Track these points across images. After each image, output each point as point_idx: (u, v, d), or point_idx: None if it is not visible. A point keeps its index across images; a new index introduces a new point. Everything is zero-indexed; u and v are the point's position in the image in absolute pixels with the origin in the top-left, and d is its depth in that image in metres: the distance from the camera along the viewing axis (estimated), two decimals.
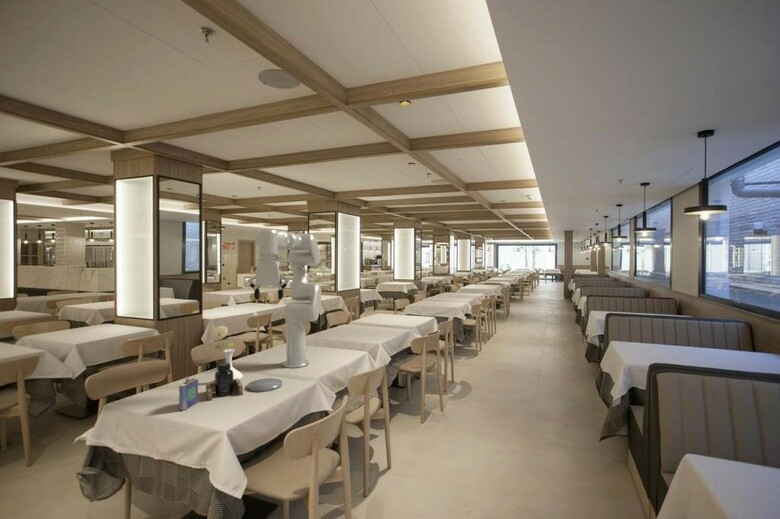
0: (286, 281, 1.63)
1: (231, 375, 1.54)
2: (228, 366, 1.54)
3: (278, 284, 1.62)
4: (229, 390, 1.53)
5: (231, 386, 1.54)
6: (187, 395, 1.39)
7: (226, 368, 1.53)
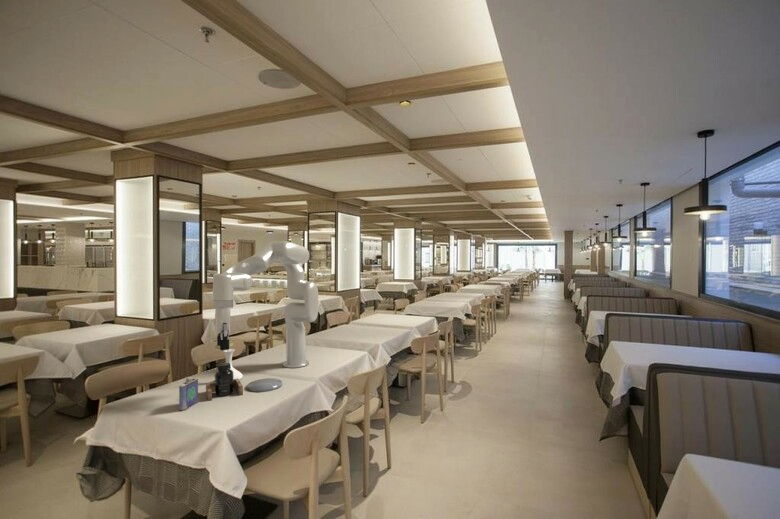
0: None
1: (231, 375, 1.54)
2: (228, 366, 1.54)
3: None
4: (229, 390, 1.53)
5: (231, 386, 1.54)
6: (187, 395, 1.39)
7: (226, 368, 1.53)
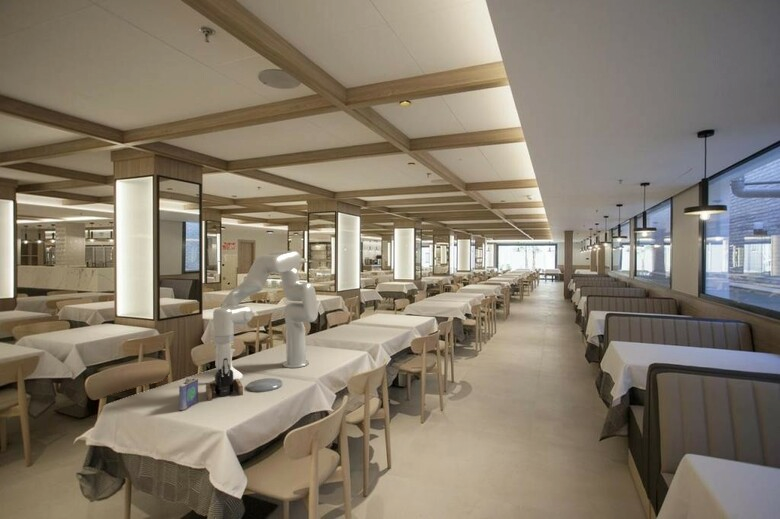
0: None
1: (231, 375, 1.54)
2: None
3: None
4: (229, 390, 1.53)
5: (231, 386, 1.54)
6: (187, 395, 1.39)
7: None
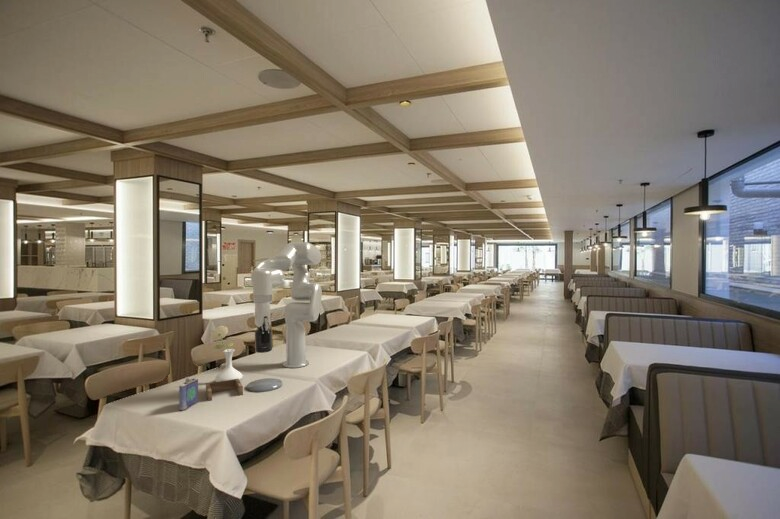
0: None
1: (270, 333, 1.63)
2: None
3: None
4: (268, 347, 1.62)
5: (270, 343, 1.63)
6: (187, 395, 1.39)
7: None
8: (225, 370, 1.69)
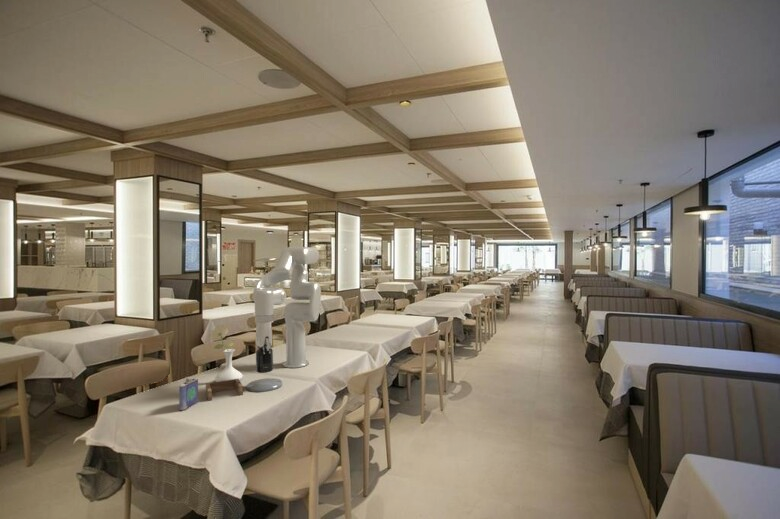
0: None
1: (271, 353, 1.63)
2: None
3: None
4: (269, 367, 1.62)
5: (271, 363, 1.63)
6: (187, 395, 1.39)
7: None
8: (225, 370, 1.69)
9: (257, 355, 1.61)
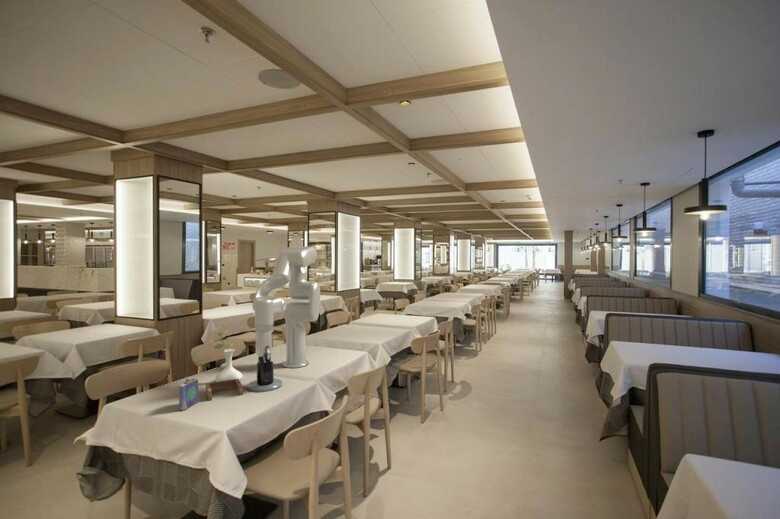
0: None
1: (272, 365, 1.63)
2: None
3: None
4: (270, 379, 1.62)
5: (272, 376, 1.63)
6: (186, 395, 1.39)
7: None
8: (225, 370, 1.69)
9: (258, 368, 1.61)
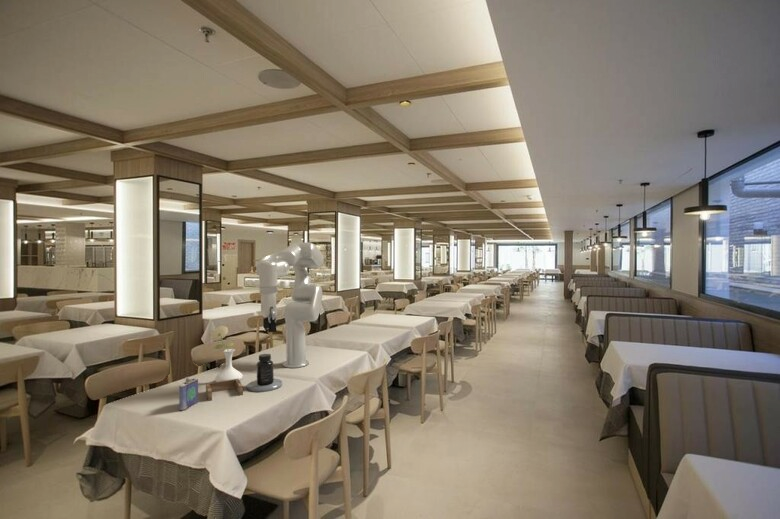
0: None
1: (272, 365, 1.63)
2: (269, 357, 1.63)
3: None
4: (270, 379, 1.62)
5: (272, 376, 1.63)
6: (187, 395, 1.39)
7: (267, 359, 1.62)
8: (225, 370, 1.69)
9: (258, 368, 1.61)
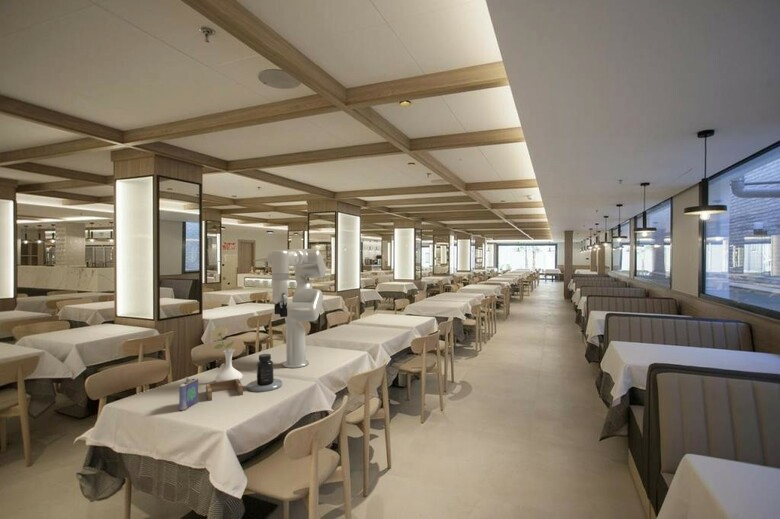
0: None
1: (272, 365, 1.63)
2: (269, 357, 1.63)
3: None
4: (270, 379, 1.62)
5: (272, 376, 1.63)
6: (186, 395, 1.39)
7: (267, 359, 1.62)
8: (225, 370, 1.69)
9: (258, 368, 1.61)
